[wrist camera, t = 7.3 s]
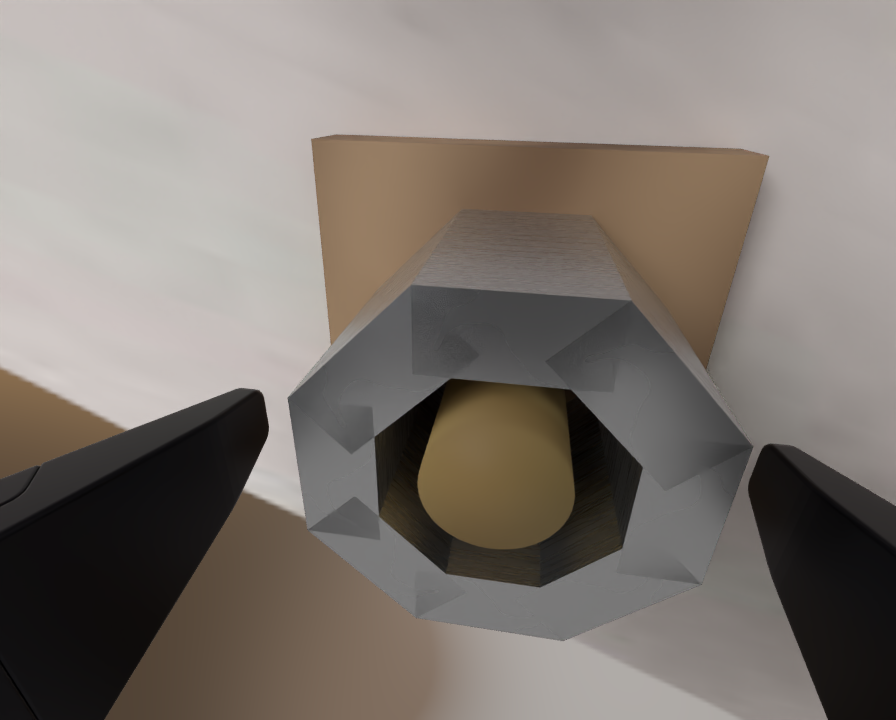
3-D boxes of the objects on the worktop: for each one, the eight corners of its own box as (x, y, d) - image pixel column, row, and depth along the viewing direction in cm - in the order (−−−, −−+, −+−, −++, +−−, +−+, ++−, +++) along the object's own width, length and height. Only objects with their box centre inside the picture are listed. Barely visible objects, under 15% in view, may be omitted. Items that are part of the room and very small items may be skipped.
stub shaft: (741, 148, 11) (971, 206, 5) (651, 476, 15) (724, 710, 9) (336, 134, 12) (152, 168, 6) (359, 442, 16) (261, 632, 10)
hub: (688, 219, 10) (803, 312, 6) (627, 472, 13) (673, 658, 9) (375, 204, 11) (269, 274, 7) (386, 444, 14) (318, 602, 10)
